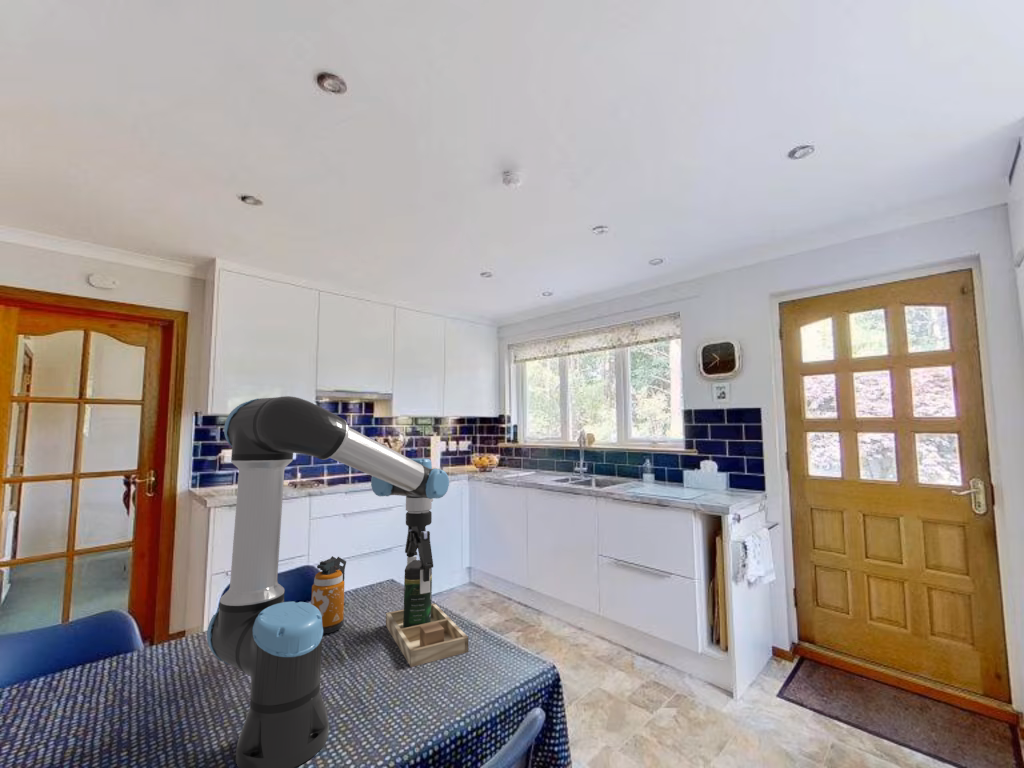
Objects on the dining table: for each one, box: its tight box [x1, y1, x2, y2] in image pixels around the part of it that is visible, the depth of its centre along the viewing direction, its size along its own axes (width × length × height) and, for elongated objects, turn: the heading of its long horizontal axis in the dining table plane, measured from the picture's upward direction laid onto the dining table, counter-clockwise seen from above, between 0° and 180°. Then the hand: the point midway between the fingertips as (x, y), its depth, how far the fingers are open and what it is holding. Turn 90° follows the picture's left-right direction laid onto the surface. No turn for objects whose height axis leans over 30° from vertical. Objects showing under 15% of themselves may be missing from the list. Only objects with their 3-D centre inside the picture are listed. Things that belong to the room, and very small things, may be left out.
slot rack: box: [385, 603, 469, 668], centre depth 122 cm, size 27×15×4 cm, turn 28°
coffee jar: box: [403, 559, 433, 628], centre depth 128 cm, size 10×8×19 cm
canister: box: [310, 556, 347, 635], centre depth 132 cm, size 9×11×20 cm
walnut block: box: [420, 622, 444, 647], centre depth 116 cm, size 5×5×5 cm
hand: (418, 585), depth 129 cm, fingers open, 13 cm apart
